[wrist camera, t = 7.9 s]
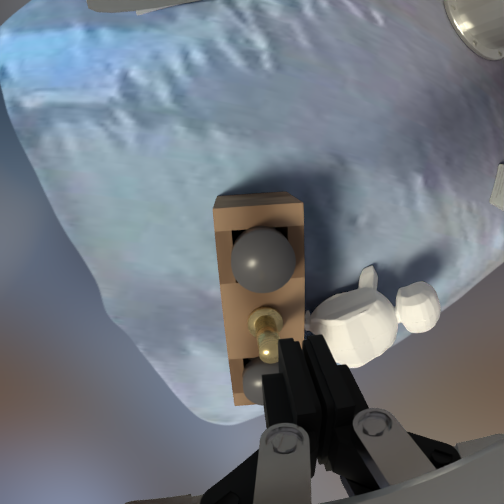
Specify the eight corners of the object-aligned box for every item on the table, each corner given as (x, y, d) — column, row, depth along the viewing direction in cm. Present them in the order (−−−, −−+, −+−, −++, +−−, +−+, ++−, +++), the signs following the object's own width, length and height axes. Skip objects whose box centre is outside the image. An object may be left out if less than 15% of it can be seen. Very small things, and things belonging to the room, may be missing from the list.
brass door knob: (281, 304, 27) (291, 334, 22) (282, 334, 28) (291, 367, 23) (246, 307, 27) (249, 338, 22) (248, 337, 28) (252, 371, 23)
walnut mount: (286, 191, 32) (303, 202, 25) (289, 356, 38) (302, 399, 30) (217, 196, 32) (212, 208, 24) (233, 361, 38) (234, 405, 30)
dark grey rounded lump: (281, 316, 35) (296, 364, 27) (282, 351, 37) (295, 402, 28) (238, 320, 35) (241, 370, 26) (241, 355, 36) (245, 407, 28)
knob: (277, 209, 32) (294, 229, 23) (279, 255, 33) (296, 290, 24) (229, 212, 31) (228, 234, 23) (232, 258, 33) (233, 295, 24)
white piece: (330, 336, 41) (436, 303, 35) (323, 383, 34) (450, 349, 28) (304, 286, 39) (421, 245, 32) (293, 331, 32) (438, 286, 25)
